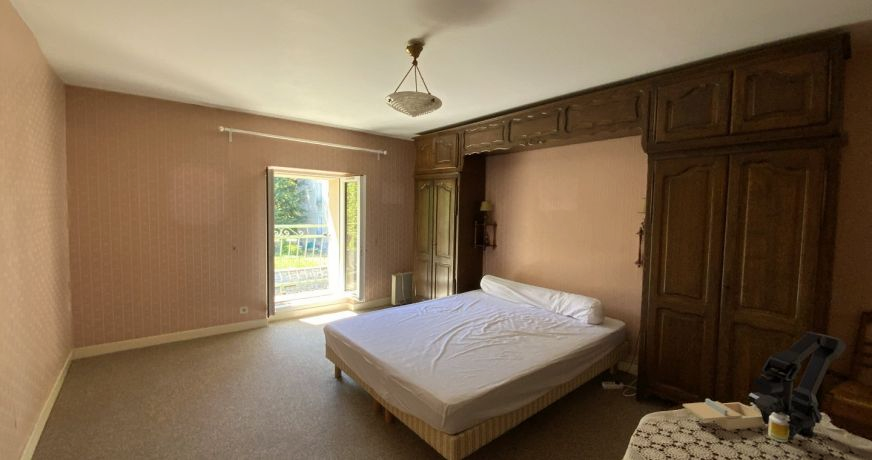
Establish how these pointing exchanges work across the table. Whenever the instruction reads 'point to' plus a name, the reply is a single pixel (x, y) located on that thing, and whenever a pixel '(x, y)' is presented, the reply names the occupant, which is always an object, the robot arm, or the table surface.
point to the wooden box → (746, 421)
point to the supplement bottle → (778, 427)
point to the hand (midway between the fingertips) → (778, 430)
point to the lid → (711, 410)
